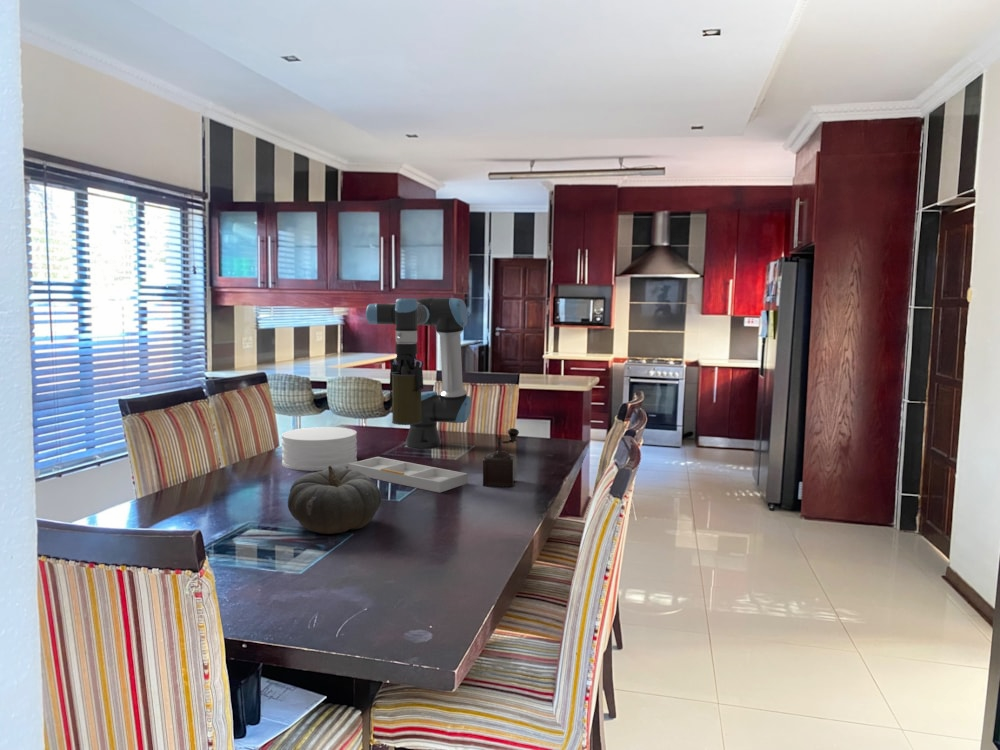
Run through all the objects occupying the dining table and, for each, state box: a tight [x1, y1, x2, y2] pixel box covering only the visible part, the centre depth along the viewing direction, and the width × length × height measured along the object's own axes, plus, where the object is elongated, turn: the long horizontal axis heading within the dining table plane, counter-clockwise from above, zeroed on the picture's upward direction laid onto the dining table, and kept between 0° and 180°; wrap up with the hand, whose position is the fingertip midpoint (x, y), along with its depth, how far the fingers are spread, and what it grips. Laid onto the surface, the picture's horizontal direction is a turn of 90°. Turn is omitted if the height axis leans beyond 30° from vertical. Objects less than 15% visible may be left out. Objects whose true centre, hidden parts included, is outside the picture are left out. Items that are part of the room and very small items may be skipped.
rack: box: [347, 456, 469, 493], centre depth 246 cm, size 43×15×4 cm, turn 55°
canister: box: [389, 366, 422, 426], centre depth 243 cm, size 11×10×20 cm
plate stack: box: [281, 426, 358, 472], centre depth 269 cm, size 28×28×12 cm
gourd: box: [287, 466, 382, 535], centre depth 192 cm, size 25×25×17 cm
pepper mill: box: [482, 428, 520, 488], centre depth 243 cm, size 16×11×18 cm
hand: (406, 408), depth 244 cm, fingers open, 6 cm apart
